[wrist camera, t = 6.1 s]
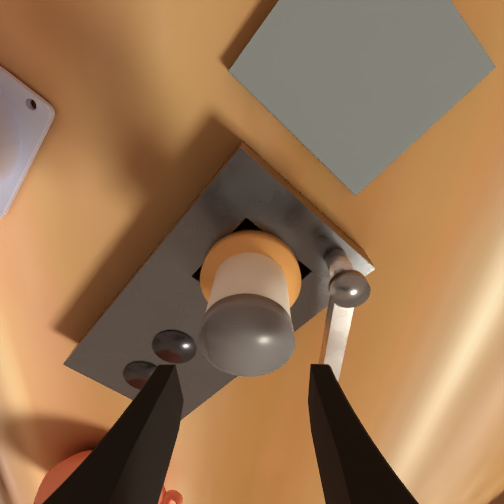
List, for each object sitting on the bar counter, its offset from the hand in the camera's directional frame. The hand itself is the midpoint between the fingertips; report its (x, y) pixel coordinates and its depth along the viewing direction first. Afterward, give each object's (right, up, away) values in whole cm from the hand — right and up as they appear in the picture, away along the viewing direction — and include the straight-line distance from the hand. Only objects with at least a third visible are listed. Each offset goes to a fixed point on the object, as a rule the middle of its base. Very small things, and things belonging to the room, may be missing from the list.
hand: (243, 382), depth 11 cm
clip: (+5, +1, +8) cm, 9 cm away
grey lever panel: (-3, +1, +10) cm, 11 cm away
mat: (+5, +13, +3) cm, 15 cm away
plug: (0, +5, +8) cm, 9 cm away
